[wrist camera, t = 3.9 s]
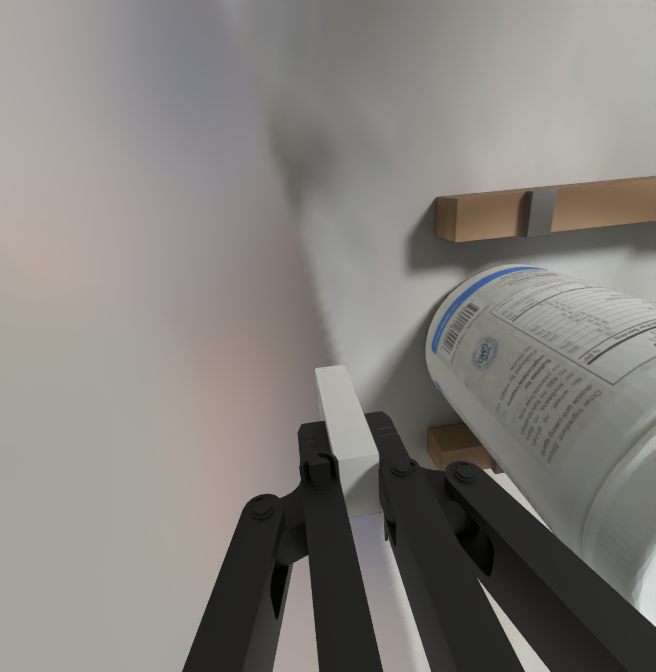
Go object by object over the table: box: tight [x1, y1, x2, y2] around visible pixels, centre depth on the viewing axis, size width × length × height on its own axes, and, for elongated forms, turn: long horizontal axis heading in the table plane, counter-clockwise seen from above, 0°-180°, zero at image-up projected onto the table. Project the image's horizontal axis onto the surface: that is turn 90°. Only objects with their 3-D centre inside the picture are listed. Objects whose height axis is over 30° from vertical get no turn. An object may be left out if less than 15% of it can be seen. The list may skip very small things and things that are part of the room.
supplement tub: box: [426, 264, 656, 627], centre depth 16 cm, size 10×10×15 cm
